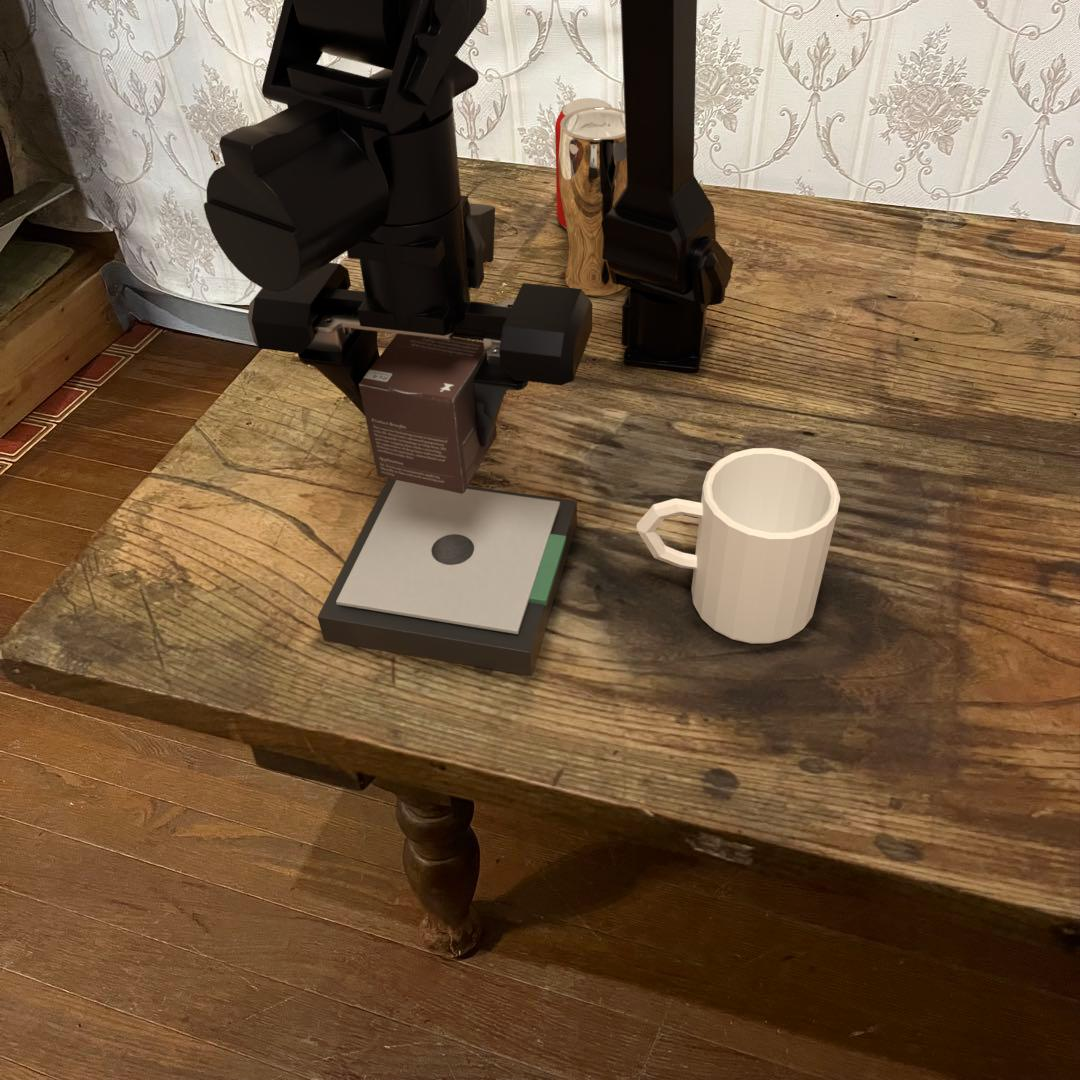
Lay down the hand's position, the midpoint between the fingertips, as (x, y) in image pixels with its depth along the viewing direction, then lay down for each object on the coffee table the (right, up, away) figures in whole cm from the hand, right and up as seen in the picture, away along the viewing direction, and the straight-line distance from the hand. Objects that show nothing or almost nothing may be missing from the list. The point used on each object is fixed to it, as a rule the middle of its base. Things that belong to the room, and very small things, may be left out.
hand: (435, 435), depth 64 cm
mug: (+19, -11, +5) cm, 22 cm away
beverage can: (+11, +25, +41) cm, 50 cm away
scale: (+1, -9, +7) cm, 12 cm away
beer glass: (+12, +18, +34) cm, 40 cm away
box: (0, -1, +1) cm, 2 cm away
